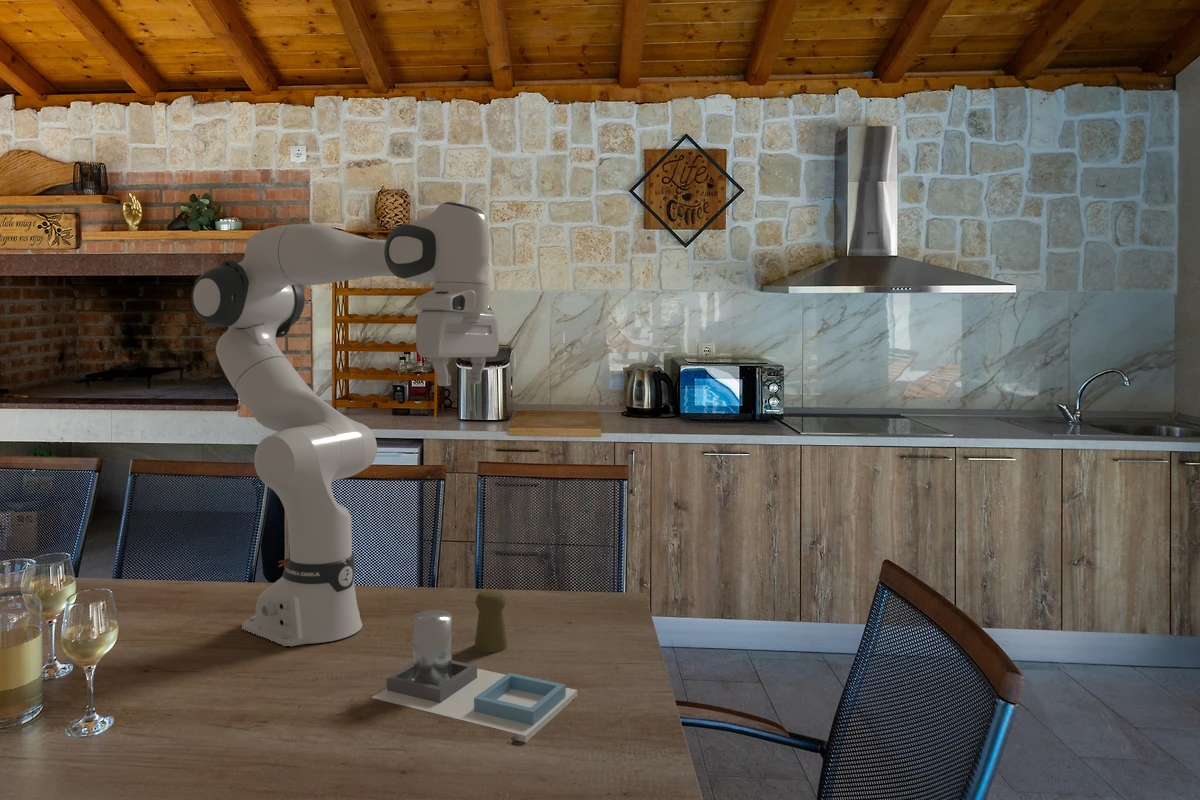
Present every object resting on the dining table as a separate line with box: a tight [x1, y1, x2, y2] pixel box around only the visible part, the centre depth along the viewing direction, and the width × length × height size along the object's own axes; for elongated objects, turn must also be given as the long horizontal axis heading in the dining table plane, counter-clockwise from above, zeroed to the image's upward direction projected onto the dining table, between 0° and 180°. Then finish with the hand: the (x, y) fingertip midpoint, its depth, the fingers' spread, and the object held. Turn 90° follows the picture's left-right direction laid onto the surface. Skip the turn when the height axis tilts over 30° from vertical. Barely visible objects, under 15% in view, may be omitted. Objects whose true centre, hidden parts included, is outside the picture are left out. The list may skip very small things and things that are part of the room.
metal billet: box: [412, 609, 453, 686], centre depth 130 cm, size 6×6×11 cm
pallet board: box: [371, 659, 578, 743], centre depth 127 cm, size 27×16×3 cm, turn 65°
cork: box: [474, 589, 508, 654], centre depth 146 cm, size 6×6×11 cm
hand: (459, 384), depth 139 cm, fingers open, 8 cm apart
